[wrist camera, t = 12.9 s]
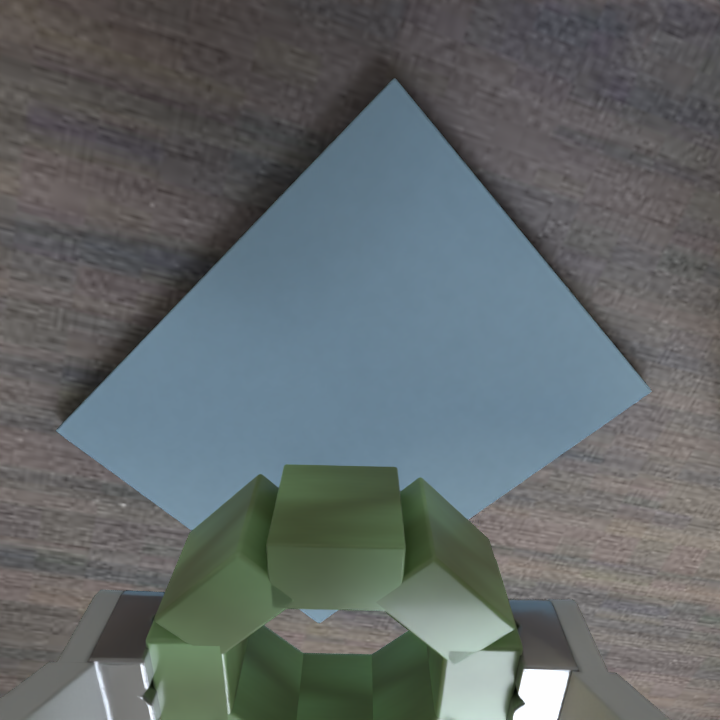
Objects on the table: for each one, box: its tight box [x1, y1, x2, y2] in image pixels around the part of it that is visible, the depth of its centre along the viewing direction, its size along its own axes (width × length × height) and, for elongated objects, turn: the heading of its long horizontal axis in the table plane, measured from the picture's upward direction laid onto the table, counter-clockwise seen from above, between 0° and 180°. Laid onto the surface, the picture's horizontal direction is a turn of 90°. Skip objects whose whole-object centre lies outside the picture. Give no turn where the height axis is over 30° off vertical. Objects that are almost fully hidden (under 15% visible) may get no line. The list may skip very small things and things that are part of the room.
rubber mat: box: [56, 78, 651, 623], centre depth 19 cm, size 16×13×1 cm
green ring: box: [146, 464, 523, 720], centre depth 11 cm, size 7×7×2 cm
